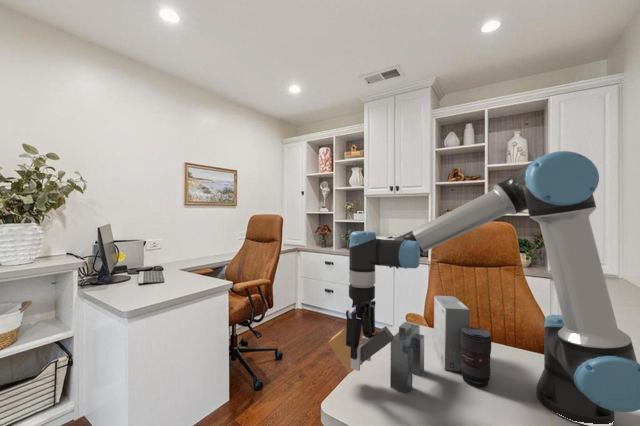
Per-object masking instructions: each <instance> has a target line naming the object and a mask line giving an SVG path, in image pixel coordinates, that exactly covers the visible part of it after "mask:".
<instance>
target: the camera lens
mask: <svg viewBox="0 0 640 426" xmlns="http://www.w3.org/2000/svg"><path fill="white" fill-rule="evenodd" d="M460 343H461V364H460V366H461V371H460V373H461V375H462V380H463V382H465V384H468V385H469V386H471V387H474V388H478V389H483V388H484V389H485V388H487V387H488V386H489V381H490V378H491V367H492V366H491V353H492V336H491V332H489V331H487V330H485V329H482V328H479V327H475V326H470V327H463V328H462V331H461V341H460Z"/></svg>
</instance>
